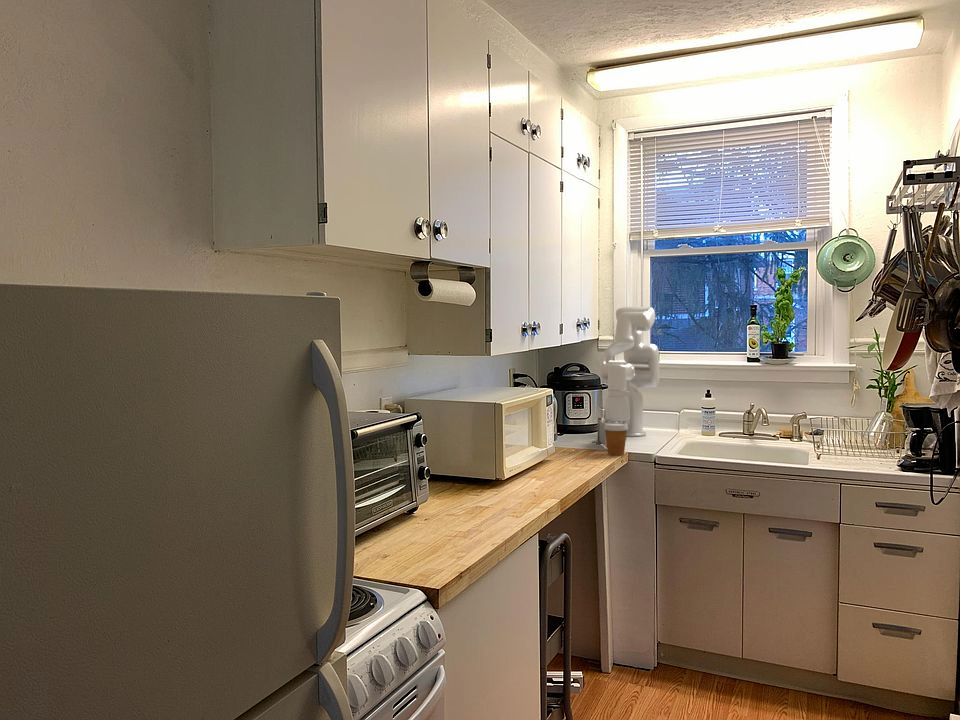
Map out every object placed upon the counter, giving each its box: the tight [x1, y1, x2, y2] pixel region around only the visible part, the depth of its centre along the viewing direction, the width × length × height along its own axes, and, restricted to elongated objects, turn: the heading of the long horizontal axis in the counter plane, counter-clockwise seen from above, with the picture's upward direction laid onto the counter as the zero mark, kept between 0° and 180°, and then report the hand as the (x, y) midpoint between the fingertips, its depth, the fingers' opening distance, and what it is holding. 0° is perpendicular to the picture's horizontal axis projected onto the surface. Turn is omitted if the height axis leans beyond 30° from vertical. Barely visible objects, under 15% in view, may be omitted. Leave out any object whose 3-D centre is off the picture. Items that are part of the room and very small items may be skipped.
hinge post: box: [591, 417, 604, 445], centre depth 317 cm, size 7×7×11 cm
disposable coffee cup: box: [604, 422, 628, 456], centre depth 290 cm, size 10×10×12 cm
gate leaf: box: [599, 419, 607, 448], centre depth 307 cm, size 16×2×9 cm, turn 1°
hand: (616, 438), depth 304 cm, fingers closed
